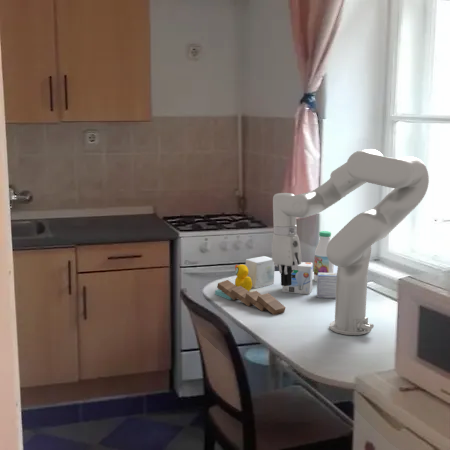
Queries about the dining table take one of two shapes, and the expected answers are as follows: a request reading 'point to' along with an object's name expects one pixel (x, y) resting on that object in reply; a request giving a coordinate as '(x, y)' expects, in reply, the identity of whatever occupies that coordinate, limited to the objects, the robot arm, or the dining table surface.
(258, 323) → the dining table surface
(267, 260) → the skincare box
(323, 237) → the milk bottle
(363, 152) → the robot arm
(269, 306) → the tile
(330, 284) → the medicine box
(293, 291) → the light bulb box
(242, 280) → the duckling
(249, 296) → the tile
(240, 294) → the tile
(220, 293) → the teal tile
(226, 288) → the tile
